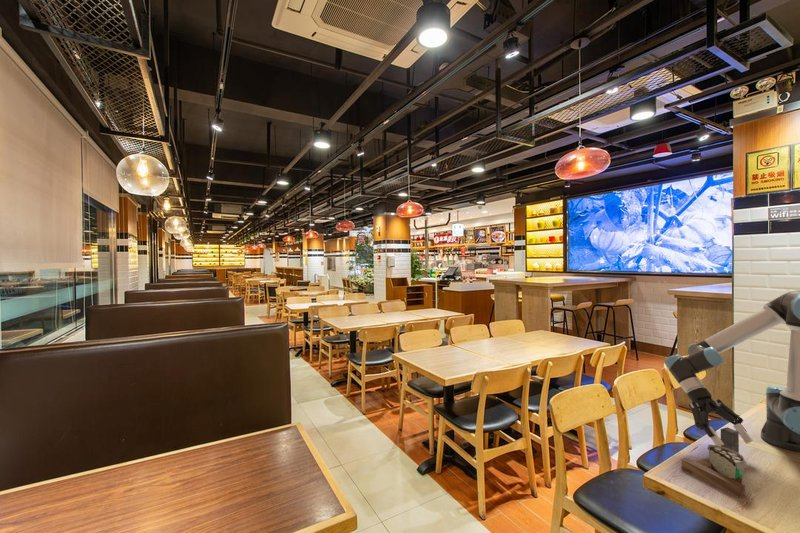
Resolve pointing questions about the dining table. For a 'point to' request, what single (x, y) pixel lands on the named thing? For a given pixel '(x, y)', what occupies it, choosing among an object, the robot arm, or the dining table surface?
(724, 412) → the robot arm
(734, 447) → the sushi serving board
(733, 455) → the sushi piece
